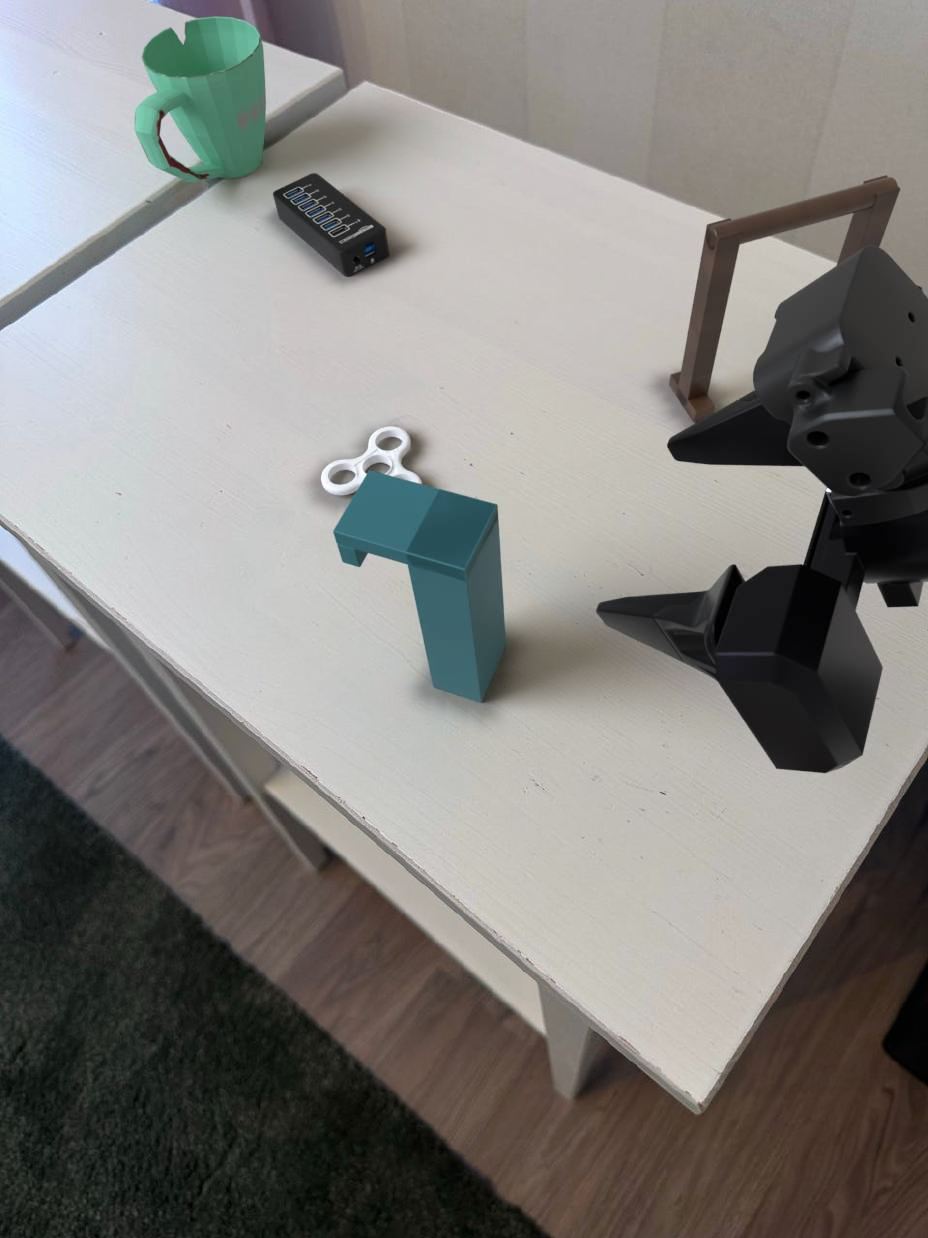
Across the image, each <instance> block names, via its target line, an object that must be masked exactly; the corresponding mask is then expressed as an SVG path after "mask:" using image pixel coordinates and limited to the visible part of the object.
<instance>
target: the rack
mask: <svg viewBox="0 0 928 1238" xmlns="http://www.w3.org/2000/svg"><path fill="white" fill-rule="evenodd" d="M900 192H901V187H899V185H898V182H897V180H896V179H895V178H894V177H893V176H888V175H887V174H885V175H881V176H877V177H874V178H871V179H866V180H864V181H863V183H862V184H858V185H854V186H851V187H847V188H844V189H840V190H836V191H833V192H832V191H831V192H829V193H825V194H822V195H818V196H814V197H809V198H807V199H803V200H801V201H800V200H799V201H797V202H792V203H789V204H785V205H782V206H777V207H774V208H771V209H767V210H763V211H760V212H755V213H752V214H749V215H744V216H741V217H738V218H734V219H732V218H731V217H729V218H725V219H721V220H718V221H714V222H711V223H707V224H706V226H705V233H704V238H703V245H702V250H701V256H700V261H699V267H698V272H697V278H696V283H695V290H694V296H693V301H692V308H691V313H690V316H689V317H690V319H689V324H688V329H687V334H686V341H685V345H684V353H683V358H682V362H681V370H680V371H677V372H674V373H670V374H669V381H668V386H669V387H670V389H671V390H672V392H673V394H674V395H675V396H676V399H678V401H679V403H680V404H681V406H682V407H683V408H684V411H686V413H687V415H688V417H690V419H691V421H692V422H693V424H695V423H697V422H699V421H701V420H702V419H704V418H706V417H708V416H710V415H711V414H713V413H715V412H716V409H717V406H716V405H715V403H714V402H713V400H712V399H711V397H710V396H709V390H710V384H711V380H712V377H713V376H712V375H713V371H714V367H715V362H716V357H717V352H718V348H719V344H720V343H719V342H720V339H721V333H722V329H723V324H724V320H725V315H726V310H727V306H728V300H729V296H730V291H731V287H732V283H733V277H734V273H735V268H736V264H737V260H738V254H739V250H740V246H741V245H744V244H747V243H751V242H754V241H757V240H761V239H765V238H769V237H772V236H776V235H779V234H783V233H786V232H791V231H794V230H797V229H800V228H803V227H809V226H813V225H815V224H819V223H822V222H825V221H830V220H833V219H837V218H840V217H844V216H848V215H851V214H852V216H851V219H850V222H849V226H848V229H847V232H846V234H845V238H844V241H843V244H842V247H841V250H840V254H839V256H838V258H837V263H836V265H835V267H836V266H837V265H839V264H840V263H842V262H843V261H845V260H846V259H848V258H849V257H851V256H852V255H854V254H855V253H857V252H858V251H860V250H861V249H863V248H864V247H866V246H869V245H874V246H877V247H879V248H881V247H880V246H881V244H882V241H883V238H884V236H885V233H886V229H887V227H888V225H889V222H890V219H891V216H892V214H893V211H894V209H895V205H896V203H897V200H898V197H899V194H900Z"/></svg>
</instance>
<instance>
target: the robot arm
mask: <svg viewBox="0 0 928 1238" xmlns="http://www.w3.org/2000/svg"><path fill="white" fill-rule="evenodd" d="M836 265H837V264H836ZM836 265H835V266H834V267H832V268H831V269H829V270H828V271H826V272H825V273H824V274H822V275H820V276H818V277H817V278H816V279H814V280H813V281H811V282H810V283H808V284H807V285H805V286H804V287H802V288H801V289H799V290H798V291H797V292H795V293H793V294H792V295H790V296H789V297H787V298H786V299H784V300H783V301H781V302H780V303H779V305H778V306H777V308H776V310H775V313H774V316H773V317H774V319H775V323H774V324H773V328H772V330H771V333H770V335H769V338H768V341H767V344H766V346H765V349H764V351H763V352H762V353H761V354H760V355H759V356H758V358H757V360H756V362H755V364H754V366H753V367H754V368H753V371H752V384H753V388H754V390H752V391H750V392H748V393H747V394H744V395H743V396H741V397H740V398H738V399H736V400H735V401H732V402H730V403H729V404H727V405H726V406H724V407H722V408H720V409H718V410H716V411H715V413H713V414H711V415H710V416H708V417H706V418H704V419H702V420H701V421H699V422H695V423H693V424H691V425H690V426H688V427H686V428H685V429H683V430H681V431H679V432H677V433H675V434H674V435H672V436H671V437H669V439H668V440H667V444H666V448H667V450H668V451H669V454H670V455H671V457H672V458H673V459H674V461H676V462H680V463H681V462H682V463H690V464H699V465H709V466H748V467H750V466H751V467H754V466H757V467H758V466H759V467H804V468H806V469H807V470H808V471H809V472H810V473H811V474H812V475H813V476H814V477H815V478H816V479H817V480H818V481H819V482H821V483H822V484H823V485H824V487H825V491H824V494H823V498H822V500H821V505H820V508H819V511H818V514H817V517H816V520H815V524H814V528H813V531H812V534H811V537H810V540H809V543H808V548H807V551H806V554H805V557H804V561H803V564H802V563H799V564H797V563H795V564H782V565H781V564H780V565H768V566H766V567H764V568H763V569H761V570H760V571H758V572H757V573H756V574H754V575H753V576H751V577H750V578H748V579H747V580H745V578H744V576H743V575H742V573H741V571H740V569H739V567H738V566H737V565H736V564H735V563H733V564H731V565H729V566H727V568H726V569H725V570H724V571H723V573H722V574H721V575H720V576H719V578H718V579H717V580H716V581H715V582H714V583H713V584H712V586H711V587H710V588H708V589H706V590H702V591H701V590H700V591H699V590H698V591H687V592H686V591H685V592H674V593H660V594H647V595H645V594H644V595H632V596H624V597H618V598H613V599H609V600H604V601H600V602H599V603H598V604H597V607H596V609H595V613H596V614H597V616H598V617H599V618H600V619H601V621H602V622H603V624H604V625H605V626H607V627H608V628H610V629H612V630H614V631H617V632H618V633H620V634H623V635H625V636H627V637H629V638H631V639H633V640H634V641H637V642H640V643H641V644H643V645H646V646H648V647H649V648H652V649H653V650H656V651H658V652H660V653H662V654H664V655H666V656H668V657H670V658H673V659H674V660H676V661H679V662H681V663H683V664H685V665H686V666H689V667H691V668H693V669H695V670H697V671H699V672H701V673H703V674H704V675H706V676H707V677H709V678H711V679H712V680H714V681H716V682H717V683H718V685H719V686H720V688H721V689H722V690H723V692H724V693H725V695H726V696H727V698H728V699H729V701H730V702H731V704H732V705H733V707H734V708H735V710H736V711H737V713H738V714H739V716H740V717H741V719H742V720H743V721H744V724H746V727H748V729H749V731H750V732H751V733H752V735H753V737H754V738H755V740H756V741H757V743H758V744H759V745H760V747H761V748H762V750H763V752H764V753H765V754H766V755H767V757H768V759H769V760H770V762H771V764H773V766H774V768H775V769H776V770H784V771H785V770H786V771H798V772H806V773H818V774H820V773H821V774H828V773H831V772H833V771H837V770H840V769H842V768H844V767H846V766H847V765H849V764H851V763H852V762H854V761H855V760H858V759H859V758H860V757H862V756H863V755H864V752H865V747H866V742H867V737H868V734H869V729H870V726H871V722H872V716H873V713H874V708H875V703H876V701H877V695H878V691H879V686H880V683H881V677H882V673H883V670H884V666H883V664H882V662H881V660H880V658H879V656H878V654H877V652H876V649H875V648H874V646H873V644H872V641H871V640H870V638H869V636H868V633H867V631H866V629H865V627H864V625H863V623H862V621H861V619H860V617H859V614H858V613H857V607H858V604H859V599H860V595H861V592H862V588H863V584H876V585H877V587H878V589H879V592H880V594H881V596H882V599H883V600H884V601H883V602H884V603H885V605H886V607H887V608H912V607H913V608H915V607H916V608H918V607H919V605H920V601H921V595H922V593H923V592H922V591H923V587H924V583H928V296H926V294H925V293H924V290H923V287H922V286H920V285H918V284H916V283H915V282H914V281H913V280H912V278H910V277H909V275H908V274H907V273H906V272H905V271H904V270H903V269H902V267H900V265H899V264H898V263H897V261H896V260H894V259H893V258H892V256H891V255H890V254H888V252H886V251H885V250H884V249H883V248H881V247H877V246H874V245H869V246H866V247H864V248H863V249H861V250H860V251H858V252H857V253H855V254H854V255H852V256H851V257H849V258H848V259H846V260H845V261H843V262H842V263H840V264H839V265H837V266H836Z"/></svg>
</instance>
